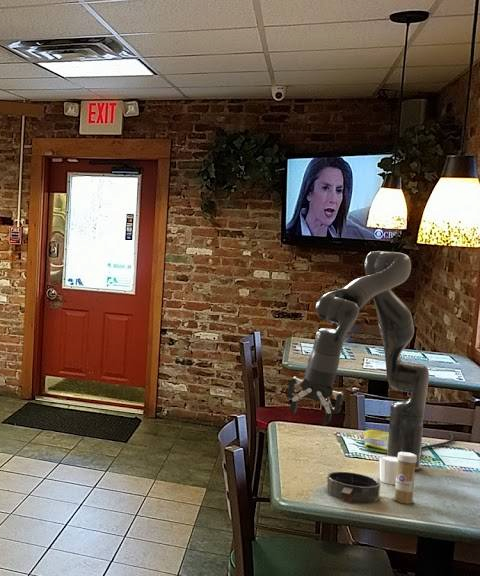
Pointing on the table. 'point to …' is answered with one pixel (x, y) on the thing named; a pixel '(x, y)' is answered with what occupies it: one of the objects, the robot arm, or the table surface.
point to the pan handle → (347, 494)
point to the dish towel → (376, 440)
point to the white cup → (388, 469)
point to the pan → (354, 486)
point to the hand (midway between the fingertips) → (308, 418)
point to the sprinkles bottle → (405, 477)
